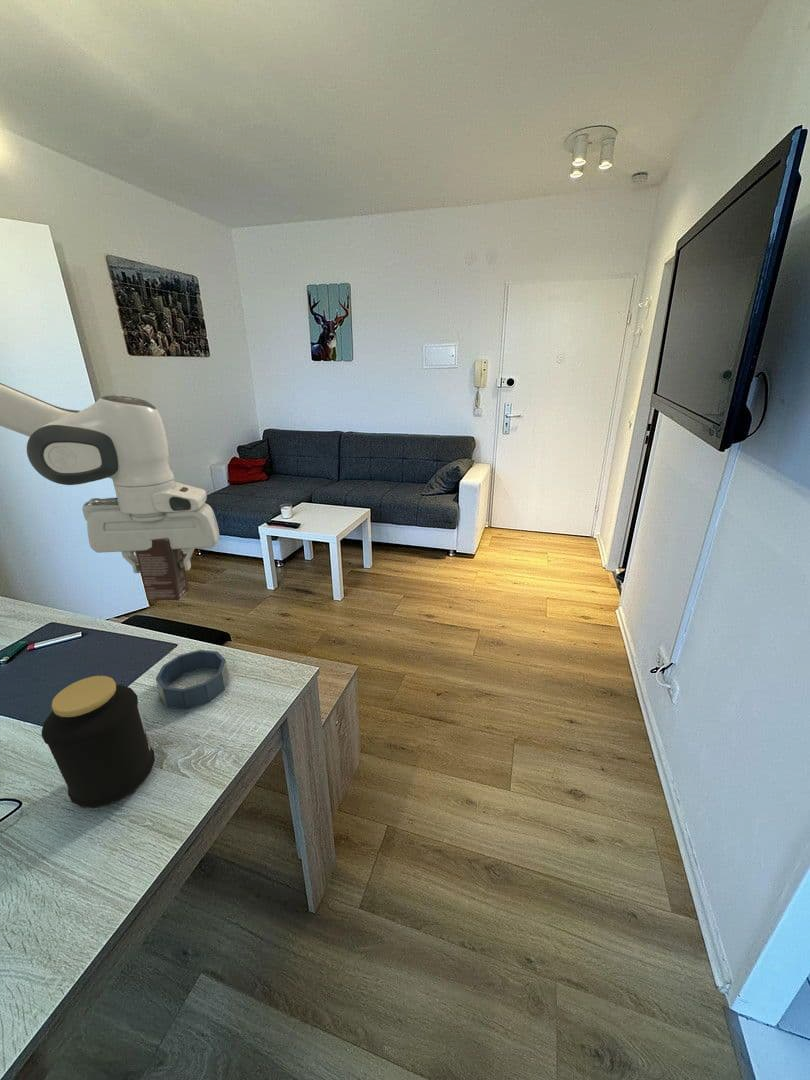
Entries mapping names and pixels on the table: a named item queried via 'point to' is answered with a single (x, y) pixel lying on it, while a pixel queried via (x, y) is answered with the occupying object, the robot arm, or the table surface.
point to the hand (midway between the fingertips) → (163, 570)
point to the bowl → (197, 692)
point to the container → (98, 741)
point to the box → (162, 571)
